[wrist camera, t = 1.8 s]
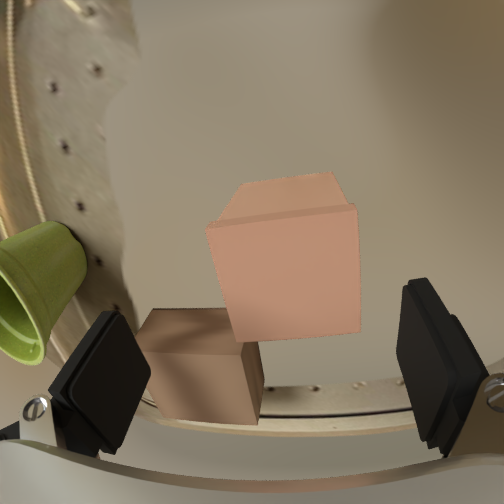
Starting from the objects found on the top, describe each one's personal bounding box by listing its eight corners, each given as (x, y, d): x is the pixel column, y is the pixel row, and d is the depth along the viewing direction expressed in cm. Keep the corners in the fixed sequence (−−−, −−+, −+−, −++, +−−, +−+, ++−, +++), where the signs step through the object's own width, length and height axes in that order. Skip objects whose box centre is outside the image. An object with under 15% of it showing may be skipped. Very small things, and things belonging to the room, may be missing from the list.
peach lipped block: (334, 168, 17) (357, 210, 11) (342, 256, 20) (360, 332, 13) (238, 181, 19) (204, 229, 12) (256, 266, 21) (236, 342, 14)
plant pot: (113, 310, 25) (61, 382, 17) (37, 290, 25) (-17, 343, 18) (97, 205, 20) (15, 262, 13) (16, 199, 21) (-57, 241, 14)
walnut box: (251, 306, 23) (240, 355, 18) (264, 379, 26) (257, 425, 22) (153, 308, 24) (127, 350, 20) (180, 376, 28) (163, 417, 23)
